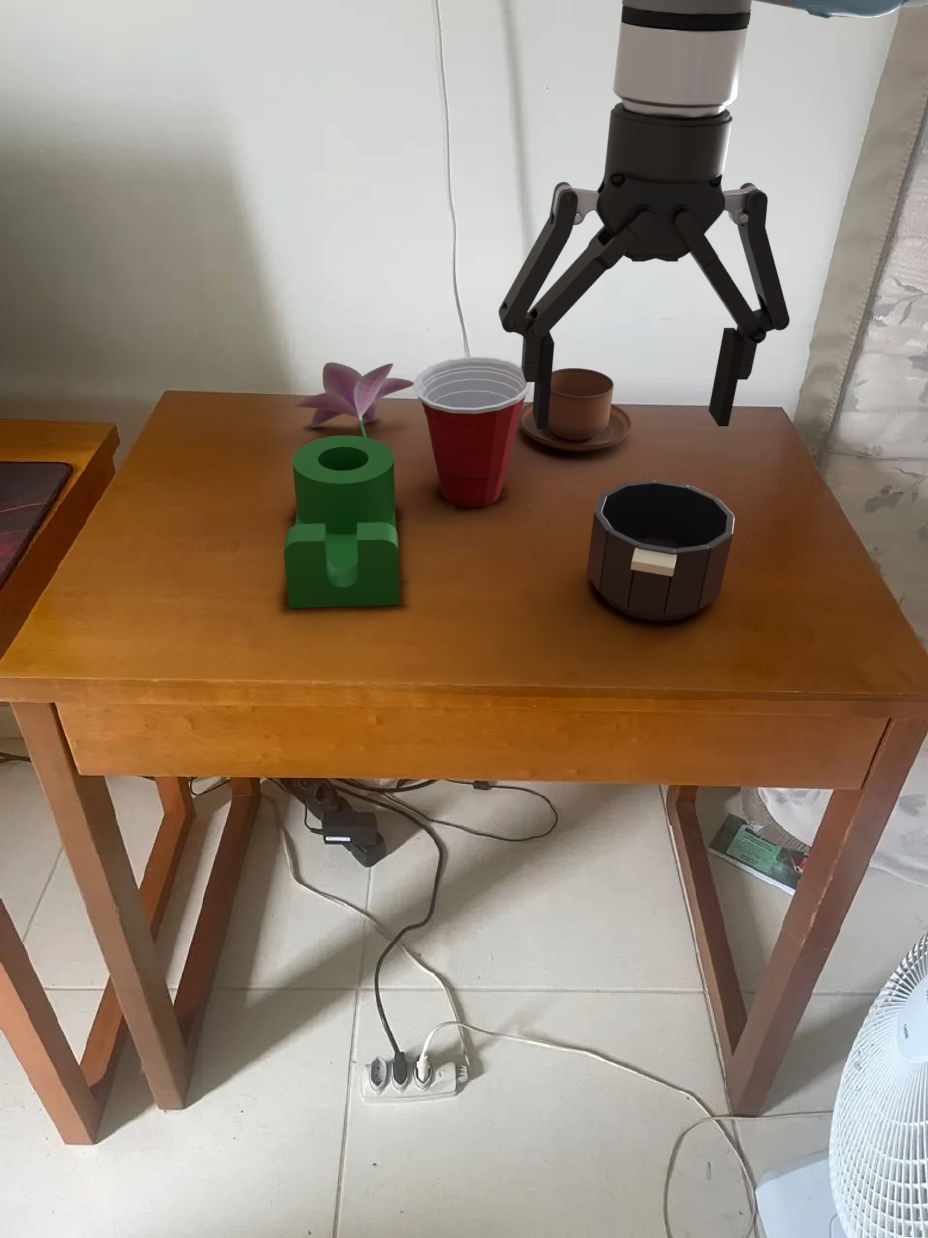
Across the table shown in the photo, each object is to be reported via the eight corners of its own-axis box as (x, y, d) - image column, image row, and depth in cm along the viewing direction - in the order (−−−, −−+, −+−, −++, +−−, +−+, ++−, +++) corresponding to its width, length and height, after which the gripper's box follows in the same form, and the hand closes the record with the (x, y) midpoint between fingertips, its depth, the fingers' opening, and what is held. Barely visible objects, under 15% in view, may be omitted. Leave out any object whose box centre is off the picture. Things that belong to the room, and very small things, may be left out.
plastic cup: (396, 478, 98) (394, 363, 91) (494, 458, 102) (499, 347, 94) (440, 532, 90) (442, 411, 83) (544, 508, 94) (554, 391, 87)
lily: (432, 436, 108) (409, 349, 106) (412, 444, 96) (386, 345, 94) (329, 463, 110) (305, 378, 108) (299, 473, 98) (271, 378, 96)
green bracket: (300, 496, 95) (295, 436, 91) (393, 494, 95) (392, 434, 91) (289, 608, 80) (282, 541, 76) (399, 604, 81) (398, 539, 77)
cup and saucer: (498, 443, 104) (501, 389, 101) (547, 402, 113) (551, 350, 109) (602, 472, 100) (609, 416, 96) (645, 427, 108) (653, 374, 105)
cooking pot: (600, 531, 88) (607, 472, 85) (724, 551, 86) (737, 492, 82) (573, 612, 78) (581, 549, 75) (713, 638, 76) (727, 574, 72)
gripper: (844, 95, 65) (774, 396, 77) (466, 90, 63) (459, 400, 76) (892, 117, 59) (809, 439, 71) (477, 113, 57) (468, 445, 70)
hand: (629, 420), depth 74 cm, fingers open, 13 cm apart
